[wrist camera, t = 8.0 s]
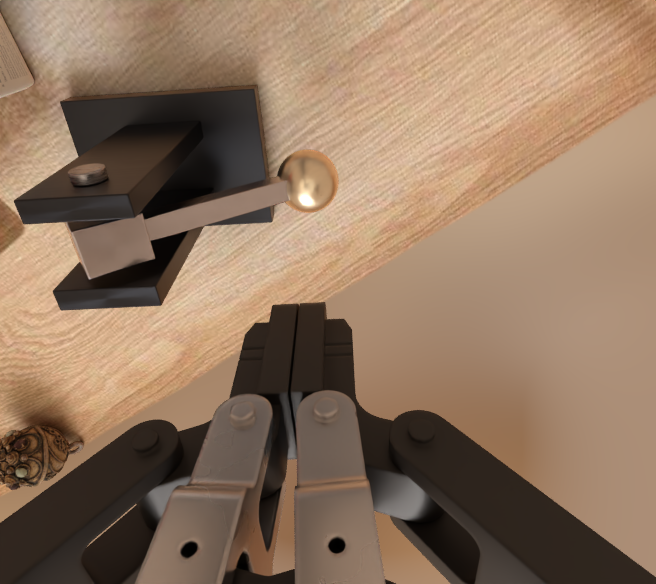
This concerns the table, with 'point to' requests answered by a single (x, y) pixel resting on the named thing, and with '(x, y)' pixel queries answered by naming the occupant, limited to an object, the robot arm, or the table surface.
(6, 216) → the table surface
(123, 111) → the lever base
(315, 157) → the lever with brass knob
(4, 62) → the ink box
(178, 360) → the table surface
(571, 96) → the table surface
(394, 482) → the robot arm
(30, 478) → the pendant
